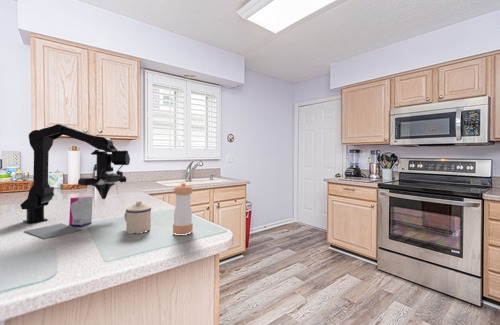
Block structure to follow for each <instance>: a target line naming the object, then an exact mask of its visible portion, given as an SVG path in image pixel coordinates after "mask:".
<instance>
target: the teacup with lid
mask: <svg viewBox="0 0 500 325" xmlns="http://www.w3.org/2000/svg"><path fill="white" fill-rule="evenodd" d="M125 209H126V210H125V212H124V215H123V216H124V220H125V221H124V222H126V224H125V225H126V228H125V230H126V233H127V234H129V233H141V232H145V231H148V230H149V231H150V230H151V226H152V224H151V223H152V222H151V221H152V219H151V215H152V214H151V212H152V207H151V206H150V205H147V204H145V203H142V200H141V201H140V200H137V201H136V202H135V204H132V205H131V206H128V207H127V208H125ZM149 231H148V232H149ZM145 233H146V232H145ZM141 234H142V233H141Z"/></svg>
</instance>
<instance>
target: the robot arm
mask: <svg viewBox="0 0 500 325" xmlns="http://www.w3.org/2000/svg"><path fill="white" fill-rule="evenodd" d="M62 136H66V137H69V138H73V139H75V140H79V141H82V142H84V143H87V144H88V145H90V146H91V147H93V148H94V149H95V150H94V151H92V152H91V153H90V154H91V155H92V156H93V155H96V166H95V167H94V170H96V175H95V176H94V177H80V178H79V179H78V182H77V184H78V186H79V185H80V186H94V187H95V188H96V190H97V192H98V194H99V195H100V197H101V199H102V200H106V199H107V196H108V193H109V191H110V189H111V187H113V185H115V184H116V183H118V182H119V183H127V177H126V176H125V175H124V174H123V173H124V172H123V171H122V170H116V171H114V167H113V166H129V165H130V162H131V157H130V154H129V151H128V150H118V149H117V148H116V147H115V145H114V142H113V139H111V138H109V137H104V136H99V135H98V136H97V135H92V134H89V133H87V132H85V131H80V130H78V129H75V128H73V127H69V126H67V125H63V124H59V123H58V124H57V123H56V124H54V125H52V126H48V127H45V128H41V129H34V130H32V131H30V132H29V133H28V141H29V142H28V143H29V145H30V146H31V147H30V148H31V149H32V150H33V178H32V179H33V180H32V182H33V183H32V185H31V187H30V189H29V191H28V195H27V198H26V199H25V200H24V201H23V202H21V204H20V208H21V209H22V210H26V219H24V220H22V222H23V223H25V224H29V225H31V224H35V223H40V222H46V221H48V220H49V219H47V218H45V206H48V205H49V202H51V200H53V197H55V193H54V190H55V187H54V186H50V184H49V152H50V151H51V148H52V146H53V145H54V140H57V139H59V138H61V137H62ZM112 164H113V166H112ZM115 182H116V183H115Z"/></svg>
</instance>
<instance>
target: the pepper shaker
mask: <svg viewBox="0 0 500 325" xmlns="http://www.w3.org/2000/svg"><path fill="white" fill-rule="evenodd" d="M173 193H174V195H175V206H174V208H175V209H174V211H173V222H174V223H173V224H172V234H173V233H176V234H186V233H189V232H191V231H192V232H193V222H192V219H193V218H192V217H193V213H192V208H191V207H192V206H191V194H192V193H193V188H192V186H190V185H187V184H186V183H181V184H180V185H177V186H175V187H174V189H173Z"/></svg>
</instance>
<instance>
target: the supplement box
mask: <svg viewBox="0 0 500 325" xmlns="http://www.w3.org/2000/svg"><path fill="white" fill-rule="evenodd" d="M93 200H94V198H93V196H76V197H70V201H69V202H70V204H69V219H68V225H69V226H72V227H84V226H87V225H90V224H92V223H93V222H92V221H93Z"/></svg>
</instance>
